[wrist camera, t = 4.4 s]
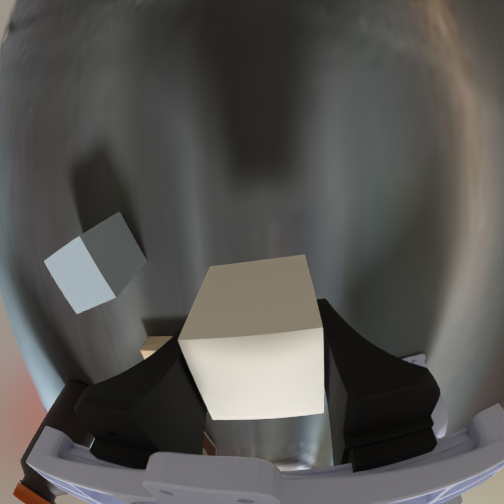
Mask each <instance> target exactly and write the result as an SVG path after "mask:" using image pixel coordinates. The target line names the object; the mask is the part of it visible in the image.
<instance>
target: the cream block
mask: <svg viewBox="0 0 504 504" xmlns="http://www.w3.org/2000/svg"><path fill="white" fill-rule="evenodd" d="M178 342H179V345H180V347H181V350H182V352H183V355H184V357H185V359H186V362H187V364H188V367H189V369H190V371H191V374H192V376H193V378H194V380H195V383H196V385H197V387H198V389H199V392H200V394H201V396H202V398H203V400H204V402H205V404H206V407H207V409H208V411H209V413H210V415H211V417H212V419H213V420H247V419H269V418H283V417H294V416H304V415H312V414H320V413H324V342H323V325H322V321H321V317H320V312H319V308H318V304H317V300H316V296H315V292H314V288H313V284H312V280H311V276H310V273H309V269H308V265H307V261H306V257H305V255H297V256H289V257H282V258H274V259H266V260H258V261H250V262H242V263H234V264H226V265H218V266H210V268H209V270H208V272H207V274H206V277H205V279H204V281H203V283H202V286H201V288H200V290H199V292H198V294H197V297H196V299H195V301H194V303H193V306H192V308H191V310H190V313H189V315H188V317H187V319H186V322H185V324H184V326H183V329H182V331H181V333H180V336H179V338H178Z"/></svg>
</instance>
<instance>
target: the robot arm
mask: <svg viewBox="0 0 504 504" xmlns="http://www.w3.org/2000/svg"><path fill="white" fill-rule="evenodd" d="M317 304H318V308H319V312H320V317H321V321H322V325H323V342H324V387H325V391H326V396H327V402H328V410H329V418H330V428H331V438H332V449H333V462H334V466H331V467H323V468H315V469H306V470H296V471H281V472H280V470H279V469H278V468H277V467H276V466H275V465H274V464H273V463H271V462H269V461H265V460H262V459H259V458H250V457H231V456H208V455H203V440H204V429H205V420H206V412H207V407H206V404H205V402H204V400H203V398H202V396H201V394H200V392H199V389H198V387H197V385H196V383H195V380H194V378H193V376H192V374H191V371H190V369H189V367H188V364H187V362H186V359H185V357H184V355H183V352H182V350H181V347H180V345H179V342H178V338H179V336H180V333H181V331H182V329H183V327H182V328H181V329H180V330H179V331H178V332H177V333H176V334H175V335H174V336H173V337H172V338H171V339H169V340H168V341H167V342H166V343H165V344H164V345H163V346H162V347H160V348H159V349H158V350H157V351H156V352H154V353H153V354H152V355H150V356H149V357H147V358H146V359H145V360H143V361H142V362H140V363H138V364H137V365H135V366H133V367H132V368H130V369H128V370H127V371H125V372H123V373H121V374H119V375H117V376H114V377H112V378H110V379H108V380H105V381H102V382H100V383H97V384H94V385H91V386H88V387H86V388H85V390H84V392H83V393H82V395H81V397H80V398H79V400H78V402H77V403H76V405H75V407H74V412H75V414H76V416H77V418H78V419H79V421H80V422H81V423H82V424H83V425H84V427H85V428H86V429H87V430H88V431H89V432H90V433H91V434H92V435H93V436H94V437H95V440H94V442H93V444H92V446H91V448H88V447H85V446H82V445H79V444H76V443H73V441H72V440H71V439H70V438H69V437H68V436H67V435H66V434H64V433H63V432H61V431H59V430H56V429H54V428H51V427H48V426H45V428H44V430H43V431H42V433H41V435H40V437H39V438H38V440H37V442H36V444H35V445H34V447H33V449H32V451H31V453H30V454H29V456H28V458H27V460H26V463H27V464H28V465H29V466H31V467H32V468H33V469H34V470H35V471H37V472H38V473H39V474H40V475H42V476H43V477H44V478H46V479H47V480H48V481H50V482H51V483H52V484H54V485H55V486H56V487H58V488H60V489H62V490H63V491H65V492H67V493H70V494H72V495H74V496H76V497H78V498H80V499H82V500H84V501H86V502H88V503H91V504H461V503H462V497H461V494H462V493H464V492H466V491H468V490H470V489H472V488H474V487H475V486H477V485H479V484H481V483H483V482H485V481H486V480H488V479H490V478H491V477H493V476H494V475H495V474H496V473H497V472H498V471H499V470H501V469H502V468H503V467H504V411H503V409H502V407H501V406H500V404H495V405H494V406H492V407H490V408H488V409H486V410H484V411H482V412H480V413H478V414H476V415H475V416H474V417H473V418H472V419H471V420H470V422H469V423H468V425H467V427H466V428H464V429H461V430H459V431H457V432H454V433H452V434H449V435H447V436H444V435H445V432H446V429H447V411H446V406H445V403H444V400H443V398H442V396H441V394H440V388H439V386H438V384H437V382H436V380H435V379H434V377H433V376H432V374H431V373H430V371H429V370H428V368H427V366H426V364H425V359H426V356H425V354H418V355H415V356H411V357H407V358H403V359H400V358H398V357H395V356H393V355H391V354H389V353H387V352H385V351H383V350H382V349H380V348H378V347H376V346H375V345H373V344H372V343H370V342H369V341H367V340H366V339H365V338H363V337H362V336H361V335H360V334H358V333H357V332H356V331H355V330H354V329H353V328H352V327H351V326H349V325H348V324H347V323H346V322H345V321H344V320H343V319H342V318H341V316H340V315H339V314H338V313H337V312H336V311H335V310H334V309H333V307H332V306H331V305H330V304H329V302H328V301H327V300H326V299H325V298H324V299H317Z"/></svg>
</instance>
